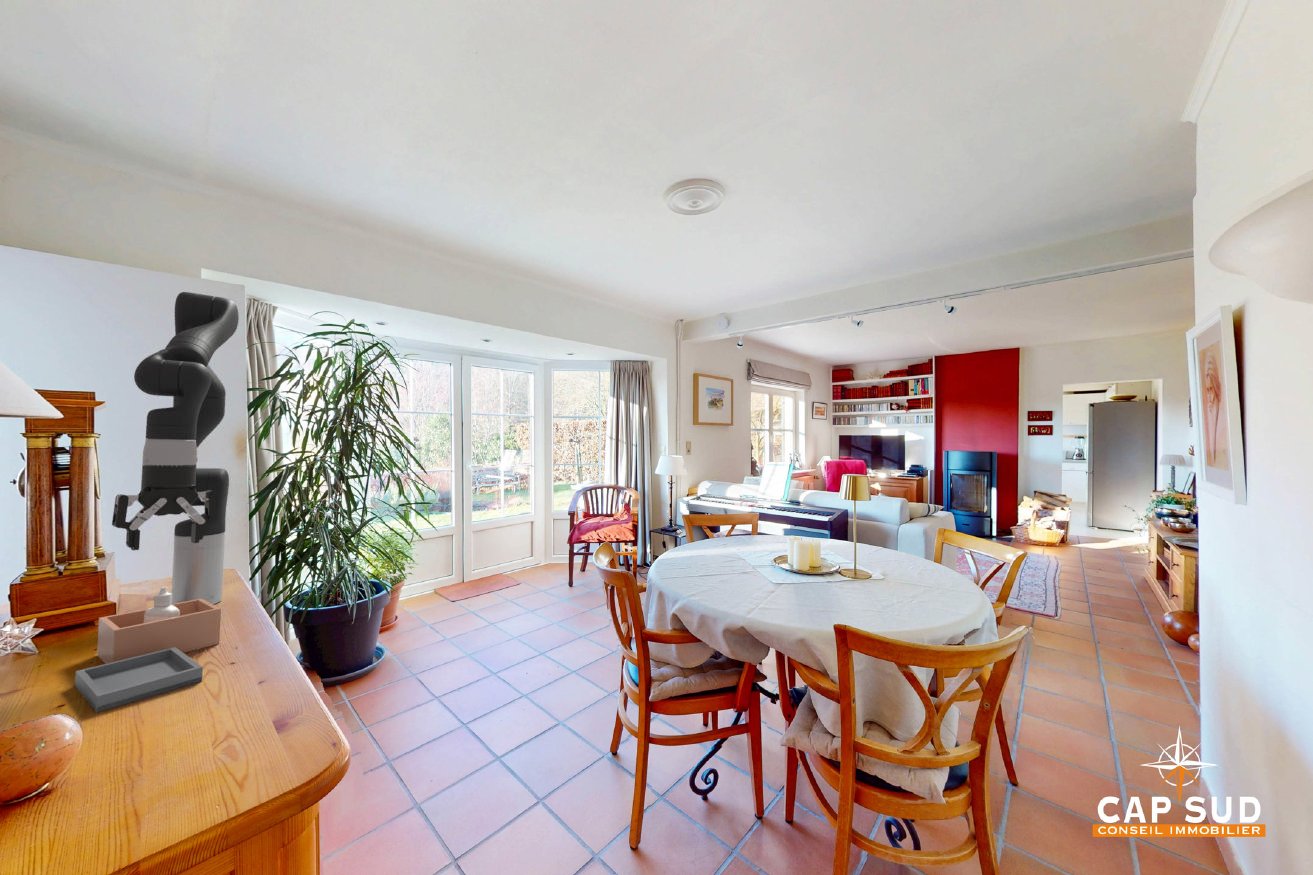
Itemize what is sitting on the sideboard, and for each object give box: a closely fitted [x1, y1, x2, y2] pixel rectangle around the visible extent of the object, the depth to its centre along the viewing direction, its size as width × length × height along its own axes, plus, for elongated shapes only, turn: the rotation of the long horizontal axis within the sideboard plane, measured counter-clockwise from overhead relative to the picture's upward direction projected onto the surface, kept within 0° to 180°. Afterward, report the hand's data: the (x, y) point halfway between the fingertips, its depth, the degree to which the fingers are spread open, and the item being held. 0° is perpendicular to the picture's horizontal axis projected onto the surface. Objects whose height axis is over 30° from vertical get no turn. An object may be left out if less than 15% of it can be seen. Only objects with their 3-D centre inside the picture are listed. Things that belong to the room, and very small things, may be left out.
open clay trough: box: [96, 599, 222, 664], centre depth 95 cm, size 11×15×7 cm
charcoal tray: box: [74, 647, 204, 714], centre depth 82 cm, size 14×12×2 cm
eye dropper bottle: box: [144, 586, 180, 623], centre depth 95 cm, size 4×6×12 cm
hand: (165, 546), depth 95 cm, fingers open, 8 cm apart
